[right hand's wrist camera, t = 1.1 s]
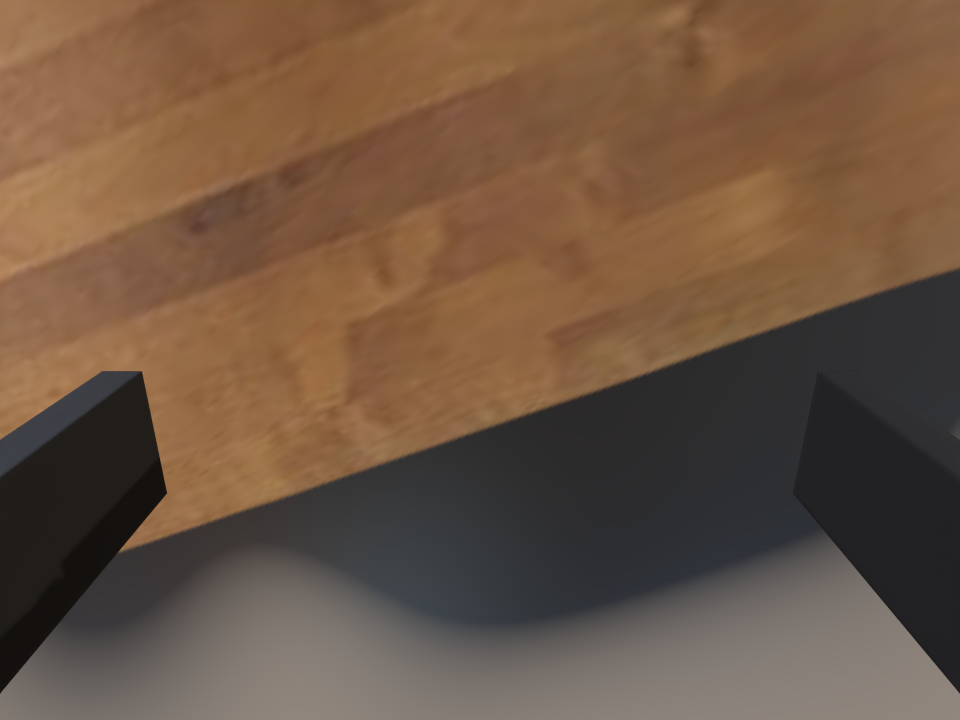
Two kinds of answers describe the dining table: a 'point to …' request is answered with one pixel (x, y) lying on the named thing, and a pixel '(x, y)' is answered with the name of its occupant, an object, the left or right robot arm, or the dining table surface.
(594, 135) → the dining table surface
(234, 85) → the dining table surface
